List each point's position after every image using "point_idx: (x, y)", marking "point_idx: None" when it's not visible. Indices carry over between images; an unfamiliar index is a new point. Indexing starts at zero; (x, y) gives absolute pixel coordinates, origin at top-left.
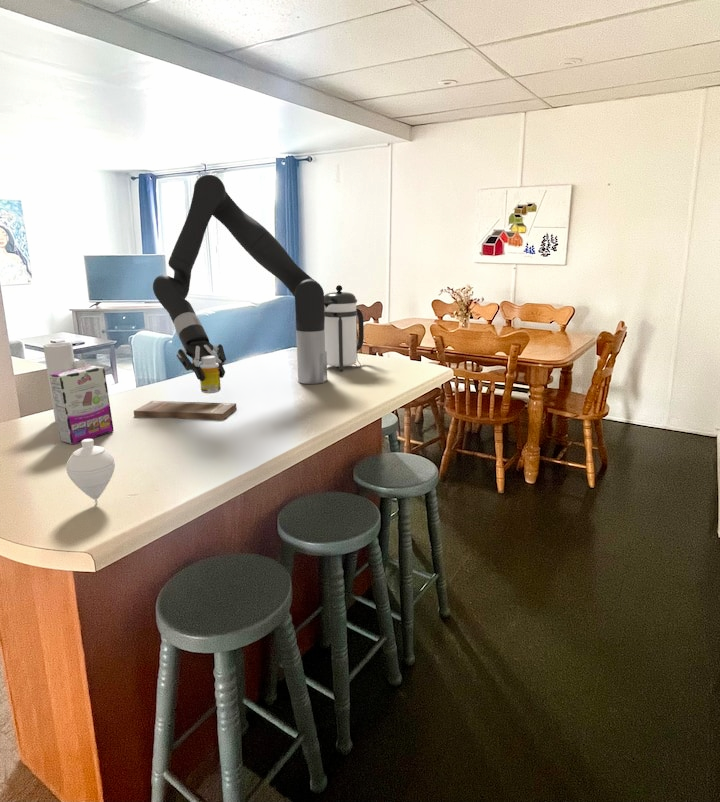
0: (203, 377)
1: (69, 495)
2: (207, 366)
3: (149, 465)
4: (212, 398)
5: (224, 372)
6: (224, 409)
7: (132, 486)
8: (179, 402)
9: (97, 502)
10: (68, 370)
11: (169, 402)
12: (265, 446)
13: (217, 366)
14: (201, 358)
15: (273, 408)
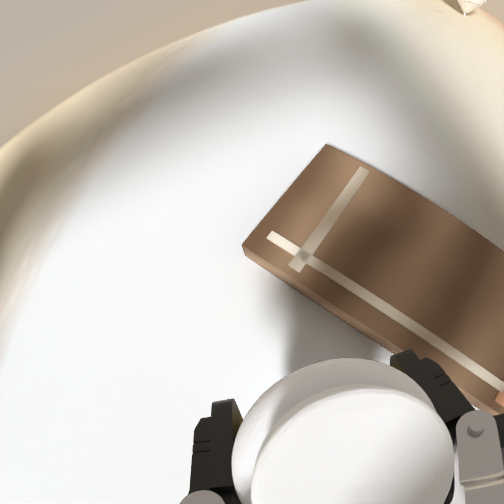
0: (400, 353)
1: (496, 37)
2: (383, 366)
3: (448, 41)
4: None
5: (205, 420)
6: (310, 183)
7: (446, 20)
8: (469, 378)
9: (463, 15)
10: None
11: (501, 386)
12: (276, 25)
13: (267, 390)
14: (450, 470)
15: (132, 206)
